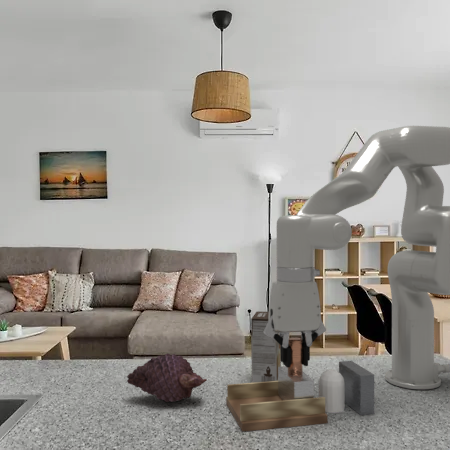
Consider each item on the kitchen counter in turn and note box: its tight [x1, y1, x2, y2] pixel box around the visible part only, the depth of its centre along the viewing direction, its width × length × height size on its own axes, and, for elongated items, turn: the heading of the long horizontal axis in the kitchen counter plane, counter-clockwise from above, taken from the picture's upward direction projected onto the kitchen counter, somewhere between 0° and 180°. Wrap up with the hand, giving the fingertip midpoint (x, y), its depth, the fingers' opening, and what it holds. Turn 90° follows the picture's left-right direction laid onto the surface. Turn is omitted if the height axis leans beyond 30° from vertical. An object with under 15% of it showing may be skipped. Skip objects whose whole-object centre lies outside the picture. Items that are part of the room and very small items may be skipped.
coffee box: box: [250, 311, 282, 383], centre depth 121 cm, size 9×6×16 cm
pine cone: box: [126, 353, 208, 403], centre depth 108 cm, size 18×10×10 cm, turn 85°
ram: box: [278, 337, 315, 400], centre depth 102 cm, size 4×10×13 cm, turn 12°
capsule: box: [318, 368, 346, 414], centre depth 104 cm, size 5×5×8 cm
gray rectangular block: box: [338, 360, 375, 416], centre depth 105 cm, size 3×10×8 cm, turn 12°
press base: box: [225, 381, 329, 433], centre depth 101 cm, size 17×14×4 cm
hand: (295, 364), depth 102 cm, fingers closed on ram, 3 cm apart
